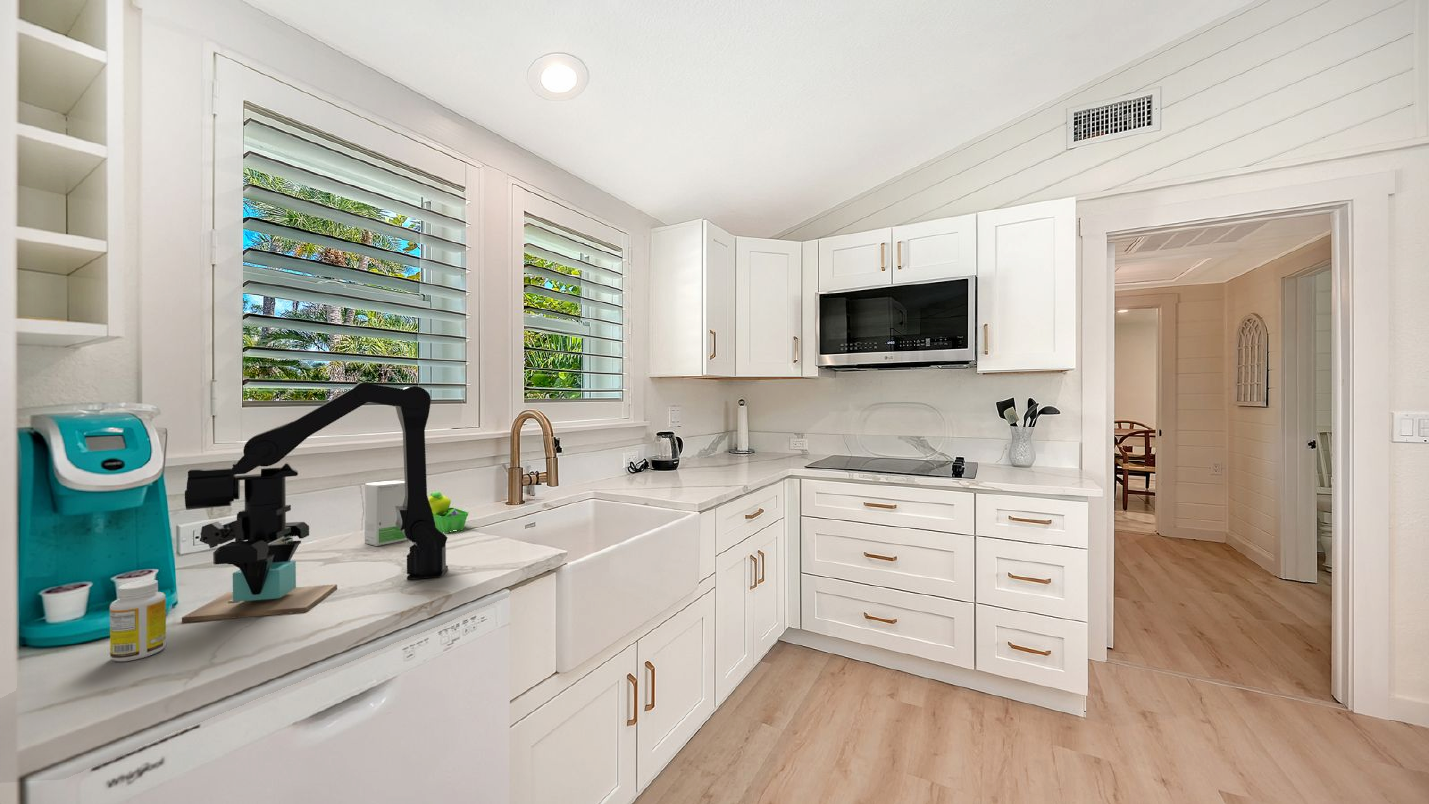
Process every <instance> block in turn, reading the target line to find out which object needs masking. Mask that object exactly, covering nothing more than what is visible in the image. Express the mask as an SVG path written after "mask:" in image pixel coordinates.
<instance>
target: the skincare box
mask: <svg viewBox="0 0 1429 804" xmlns="http://www.w3.org/2000/svg"><path fill="white" fill-rule="evenodd" d="M404 499H405V480H404V481H402V480H386V481H379V482H378V481H376V482H367V483H364V544H366V545H371V546H374V547H379V546H384V545H388V544H394V543H399V542H403V541H408V539H407V538H406V537H405V535H404V534H403V533H402V532H401V530H400V529H399V528H398V527H397V526H396V525H395V524H396V521H397V513H396V509H395V506H403V502H404Z"/></svg>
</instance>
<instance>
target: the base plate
mask: <svg viewBox="0 0 1429 804" xmlns="http://www.w3.org/2000/svg"><path fill="white" fill-rule="evenodd" d="M337 589H338V584H327V585H326V584H324V585H323V584H322V585H310V586H296V588H294V589H293V590H291V591H290V592H288V593H287V594H285V595H284V596H282V597H280V598H278V599H276V600H275V601H263V602H251V600H249V601H237V602H233V591H230V592H229V591H228V592H226V593H224V594H223V595H221V596H219V597H217V598H216V599H213V600H211V601H210V602H207V603H206V604H204V605H202V606H201V607H198V608H197V609H195V610H193V611H191V612H189V613H187V614H186V615H184V616H182V617H181V623H188V622H187V621H191V622H202V621H201V620H203V621H211V620H224V619H226V620H228V619H235V618H248V617H259V616H271V615H274V616H275V615H282V614H294V613H295V614H296V612H298V613H306V612H308V611H310V610H311V609H312V608H313V607H315V606H316V605H317V604H318V603H320V602H321V601H323V600H324V599H325V598H327V597H328V596H329V595H330V594H332V593H333V592H334V591H335V590H337Z"/></svg>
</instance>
